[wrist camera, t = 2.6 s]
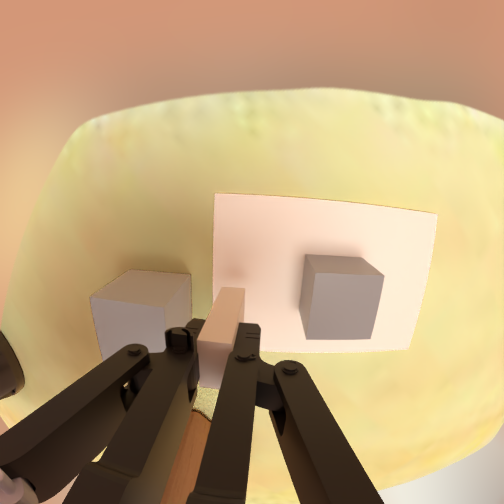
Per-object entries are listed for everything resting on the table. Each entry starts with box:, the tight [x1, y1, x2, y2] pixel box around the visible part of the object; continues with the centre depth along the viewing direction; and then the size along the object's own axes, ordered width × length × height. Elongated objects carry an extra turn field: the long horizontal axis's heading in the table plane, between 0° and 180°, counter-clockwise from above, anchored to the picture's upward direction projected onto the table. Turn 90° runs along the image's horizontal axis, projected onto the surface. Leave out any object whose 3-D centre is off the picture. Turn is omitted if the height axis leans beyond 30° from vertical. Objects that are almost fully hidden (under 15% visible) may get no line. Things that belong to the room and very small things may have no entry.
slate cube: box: [90, 269, 192, 361], centre depth 21 cm, size 6×6×7 cm
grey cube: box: [299, 254, 385, 340], centre depth 20 cm, size 5×5×5 cm
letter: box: [213, 193, 438, 353], centre depth 23 cm, size 20×14×1 cm
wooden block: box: [160, 412, 211, 504], centre depth 19 cm, size 10×10×20 cm
